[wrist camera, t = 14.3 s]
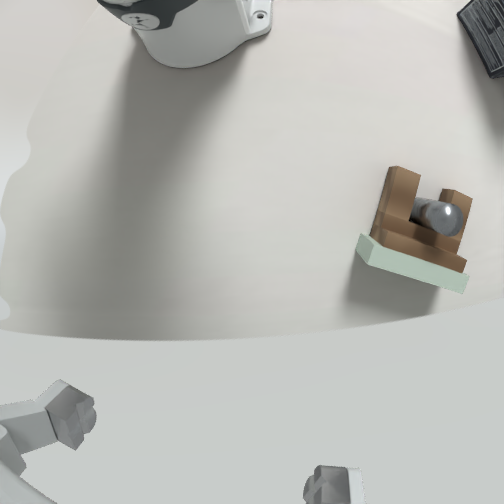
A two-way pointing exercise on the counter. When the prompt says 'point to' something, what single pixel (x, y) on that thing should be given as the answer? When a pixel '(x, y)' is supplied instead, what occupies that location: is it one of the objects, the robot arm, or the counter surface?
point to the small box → (486, 32)
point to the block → (413, 235)
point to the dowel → (437, 216)
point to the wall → (409, 265)
